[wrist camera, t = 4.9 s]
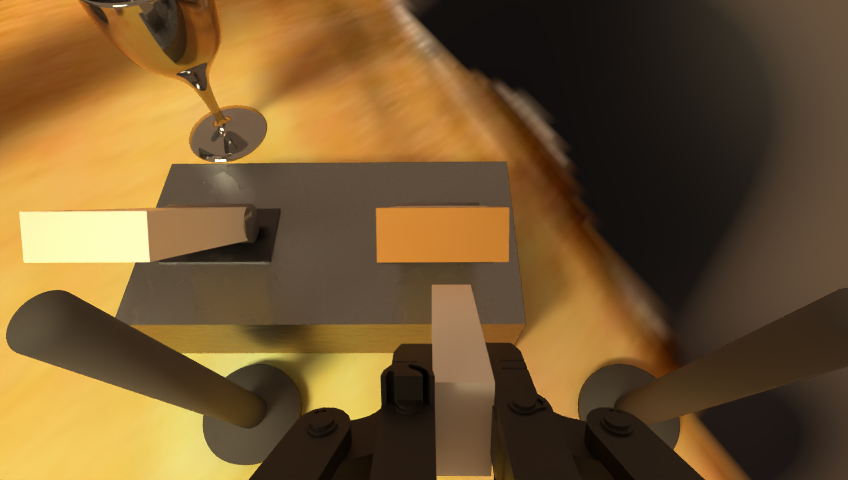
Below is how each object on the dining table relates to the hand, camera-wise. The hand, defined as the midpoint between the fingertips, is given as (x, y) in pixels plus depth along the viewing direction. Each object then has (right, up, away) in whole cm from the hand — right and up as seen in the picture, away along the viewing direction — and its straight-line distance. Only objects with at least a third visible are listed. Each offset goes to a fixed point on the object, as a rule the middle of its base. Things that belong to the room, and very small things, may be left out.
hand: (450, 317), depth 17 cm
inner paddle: (-14, +4, +11) cm, 19 cm away
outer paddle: (0, +4, +11) cm, 12 cm away
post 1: (-12, -8, +12) cm, 19 cm away
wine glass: (-19, +13, +24) cm, 34 cm away
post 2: (+12, -8, +11) cm, 18 cm away
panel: (-7, 0, +16) cm, 18 cm away
